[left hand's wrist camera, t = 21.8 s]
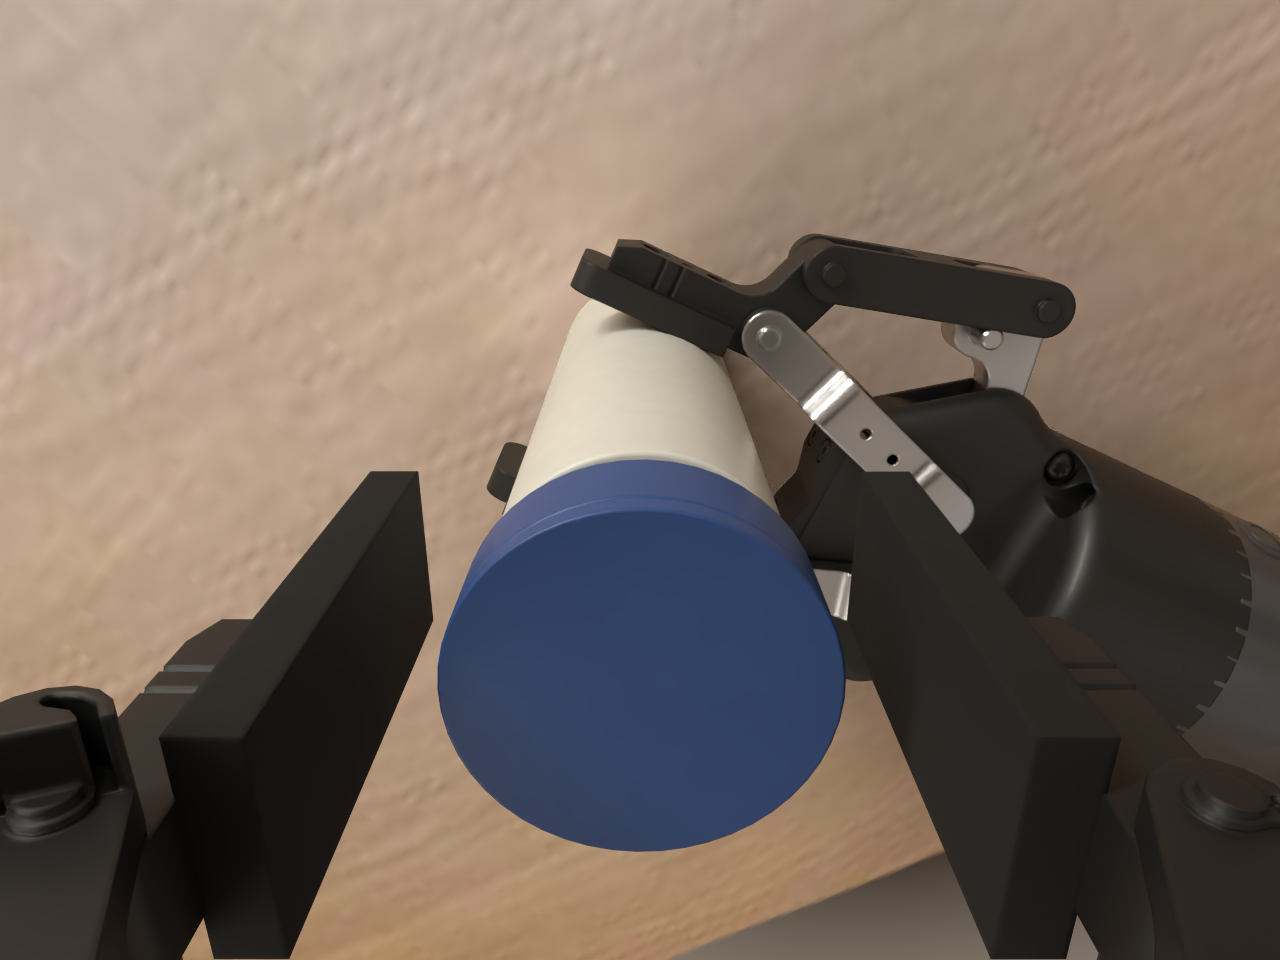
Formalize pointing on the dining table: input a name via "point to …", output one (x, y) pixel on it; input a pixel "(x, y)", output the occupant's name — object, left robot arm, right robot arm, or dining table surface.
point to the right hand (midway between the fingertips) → (539, 370)
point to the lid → (641, 659)
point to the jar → (638, 406)
